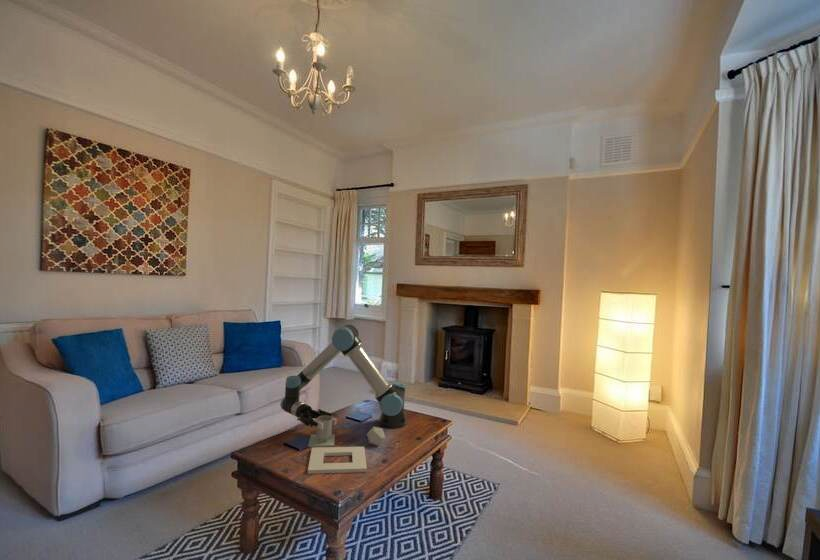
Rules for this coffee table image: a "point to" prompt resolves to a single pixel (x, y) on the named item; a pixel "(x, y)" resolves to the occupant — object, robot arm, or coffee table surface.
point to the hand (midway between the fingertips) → (329, 424)
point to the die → (376, 436)
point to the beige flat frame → (320, 467)
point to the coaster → (321, 441)
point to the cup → (324, 427)
